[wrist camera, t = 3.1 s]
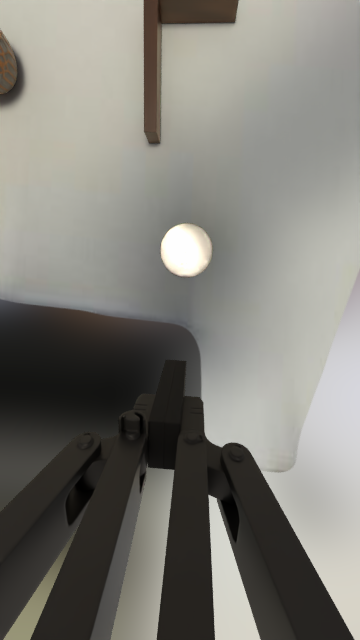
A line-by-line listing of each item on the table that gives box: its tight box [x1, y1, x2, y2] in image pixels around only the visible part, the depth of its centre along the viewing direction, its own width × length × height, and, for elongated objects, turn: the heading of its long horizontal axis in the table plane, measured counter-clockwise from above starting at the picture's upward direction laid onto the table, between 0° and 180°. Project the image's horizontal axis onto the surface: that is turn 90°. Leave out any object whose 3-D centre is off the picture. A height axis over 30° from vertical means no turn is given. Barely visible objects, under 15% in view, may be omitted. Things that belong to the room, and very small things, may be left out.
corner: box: [144, 0, 239, 143], centre depth 28 cm, size 10×14×3 cm
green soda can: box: [160, 223, 213, 278], centre depth 29 cm, size 5×5×12 cm
